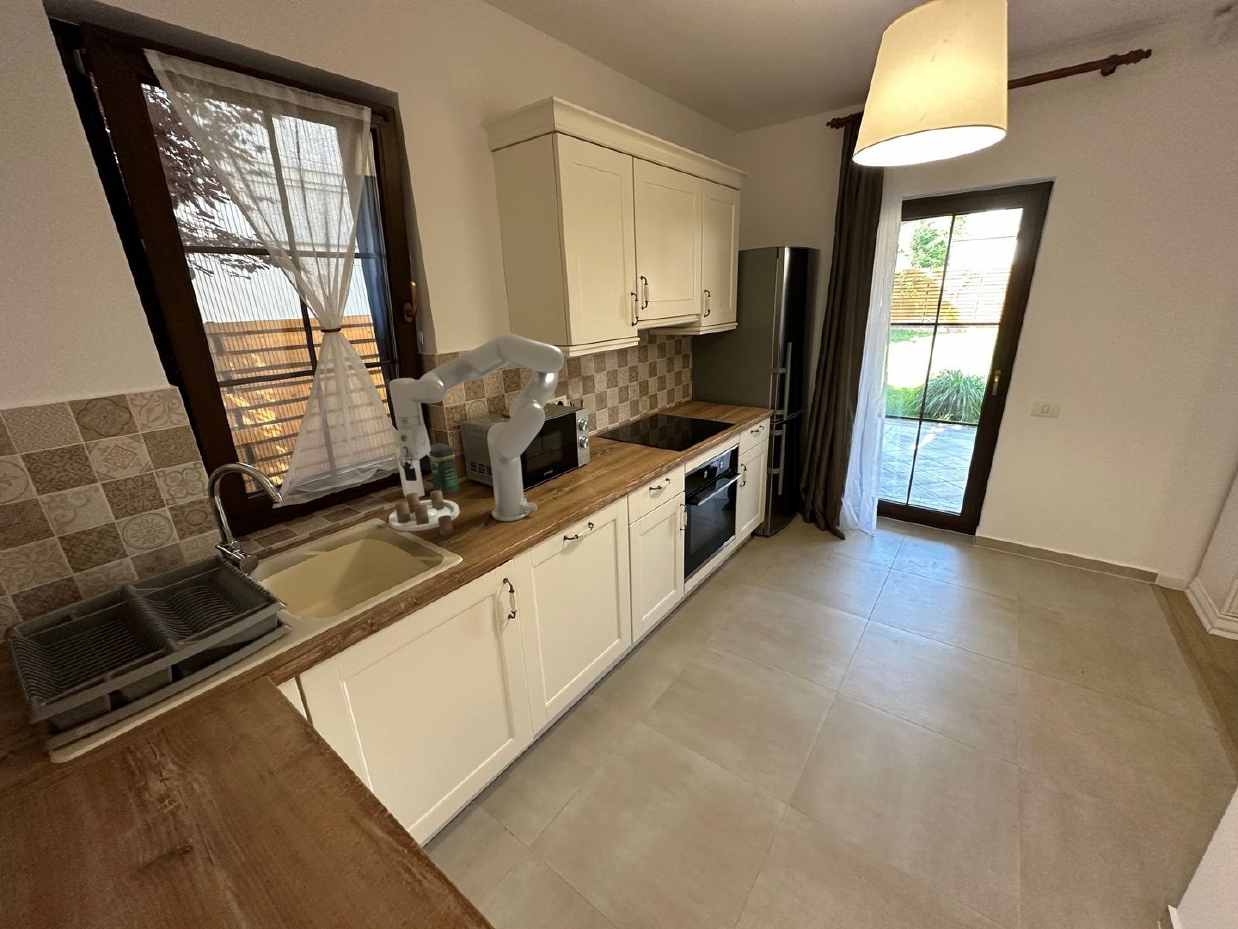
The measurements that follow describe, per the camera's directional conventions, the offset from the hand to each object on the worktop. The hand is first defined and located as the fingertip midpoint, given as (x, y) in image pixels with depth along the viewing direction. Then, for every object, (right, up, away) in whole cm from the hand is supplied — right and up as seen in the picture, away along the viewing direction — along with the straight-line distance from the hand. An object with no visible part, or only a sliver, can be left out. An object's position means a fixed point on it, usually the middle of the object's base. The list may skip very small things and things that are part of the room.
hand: (419, 474), depth 149 cm
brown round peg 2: (-2, -16, +7) cm, 18 cm away
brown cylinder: (-1, -12, +19) cm, 22 cm away
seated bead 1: (-8, -13, +17) cm, 23 cm away
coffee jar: (-4, -7, +36) cm, 37 cm away
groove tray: (-3, -15, +13) cm, 20 cm away
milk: (-15, -9, +31) cm, 35 cm away
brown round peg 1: (-9, -15, +10) cm, 20 cm away
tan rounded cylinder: (+8, -19, +2) cm, 21 cm away
